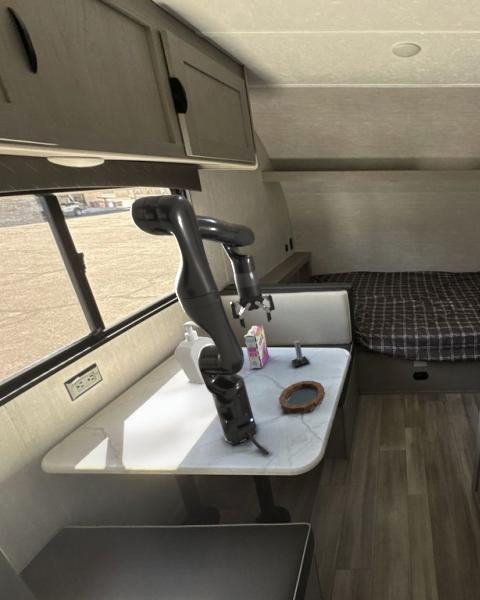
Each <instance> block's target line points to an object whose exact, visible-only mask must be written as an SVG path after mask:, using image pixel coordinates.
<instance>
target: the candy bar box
mask: <svg viewBox="0 0 480 600" xmlns="http://www.w3.org/2000/svg"><path fill="white" fill-rule="evenodd" d="M243 339H244V342H245V343H244V344H245V347H246V351H247V352H246V353H247V356H248V360H249V361H248V362H249V365H250V369H251V370H255V369H259V370H260V369H263V367H264V365H265V363H266V361H267V359H268V358H269V350H268V345H267V339H266V335H265V329H264V325H263V324H262V325H252V326H251V327H250V328H249V330H248V331H247V332H246V334H245V335H244V336H243Z"/></svg>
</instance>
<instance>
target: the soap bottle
mask: <svg viewBox="0 0 480 600" xmlns="http://www.w3.org/2000/svg"><path fill="white" fill-rule="evenodd" d="M184 326H185V331H186V332H185V333H184V337H185V339H183V340H182V341H181V342H179V344H178V345H177V346H176V348H175V350H174V354H173V356H174V358H175V359H176V361H177V363H178V365H179V366H180V368H181V369H182V372H184V374H185V376H186V378H187V379H188V382H190V383H197V384H199V383H200V384H205V383H204V380H203V378H202V375H201V373H200V370H199V366H198V355H199V352H200V350H201V349H202V348H203V347H204V346H205V345H207V344H210V343H214V342H213V340H212V339H211V337H206V336H198V333H197V330H194V329H193V327H196V328H198V329H199V328H200V327H199V326H198V325H197V324H195V323H194V322H193V321H192V320H189V321H187V322H185V323H183V324H181V325H179V327H180V328H182V327H184Z"/></svg>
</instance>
